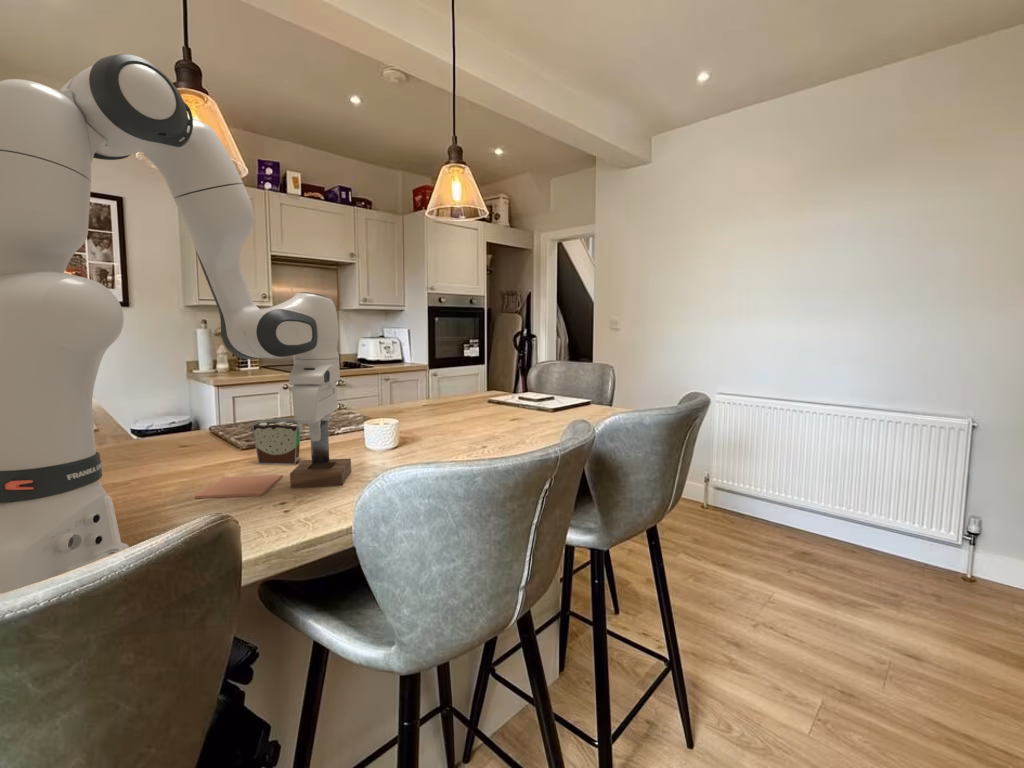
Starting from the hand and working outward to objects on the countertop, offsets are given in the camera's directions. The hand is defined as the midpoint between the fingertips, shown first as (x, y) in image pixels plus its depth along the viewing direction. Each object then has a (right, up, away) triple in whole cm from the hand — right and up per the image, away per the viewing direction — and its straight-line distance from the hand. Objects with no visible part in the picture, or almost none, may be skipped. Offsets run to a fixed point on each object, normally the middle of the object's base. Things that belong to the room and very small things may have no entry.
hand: (319, 438), depth 102 cm
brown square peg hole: (0, -9, +1) cm, 9 cm away
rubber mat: (-14, -10, -4) cm, 18 cm away
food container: (-15, -8, +16) cm, 24 cm away
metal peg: (0, -5, +1) cm, 5 cm away
